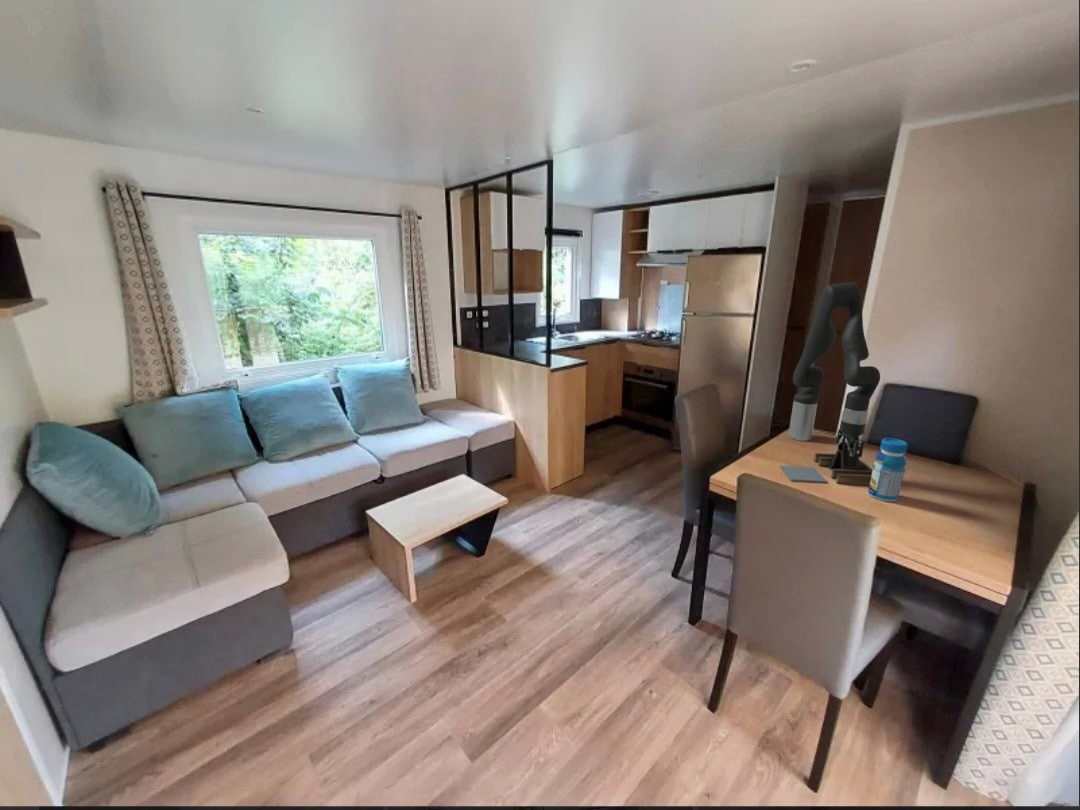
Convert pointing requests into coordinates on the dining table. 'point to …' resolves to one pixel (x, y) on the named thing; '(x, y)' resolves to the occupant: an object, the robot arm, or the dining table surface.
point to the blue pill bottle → (888, 470)
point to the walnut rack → (846, 471)
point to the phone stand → (843, 459)
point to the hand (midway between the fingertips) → (845, 461)
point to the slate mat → (803, 474)
